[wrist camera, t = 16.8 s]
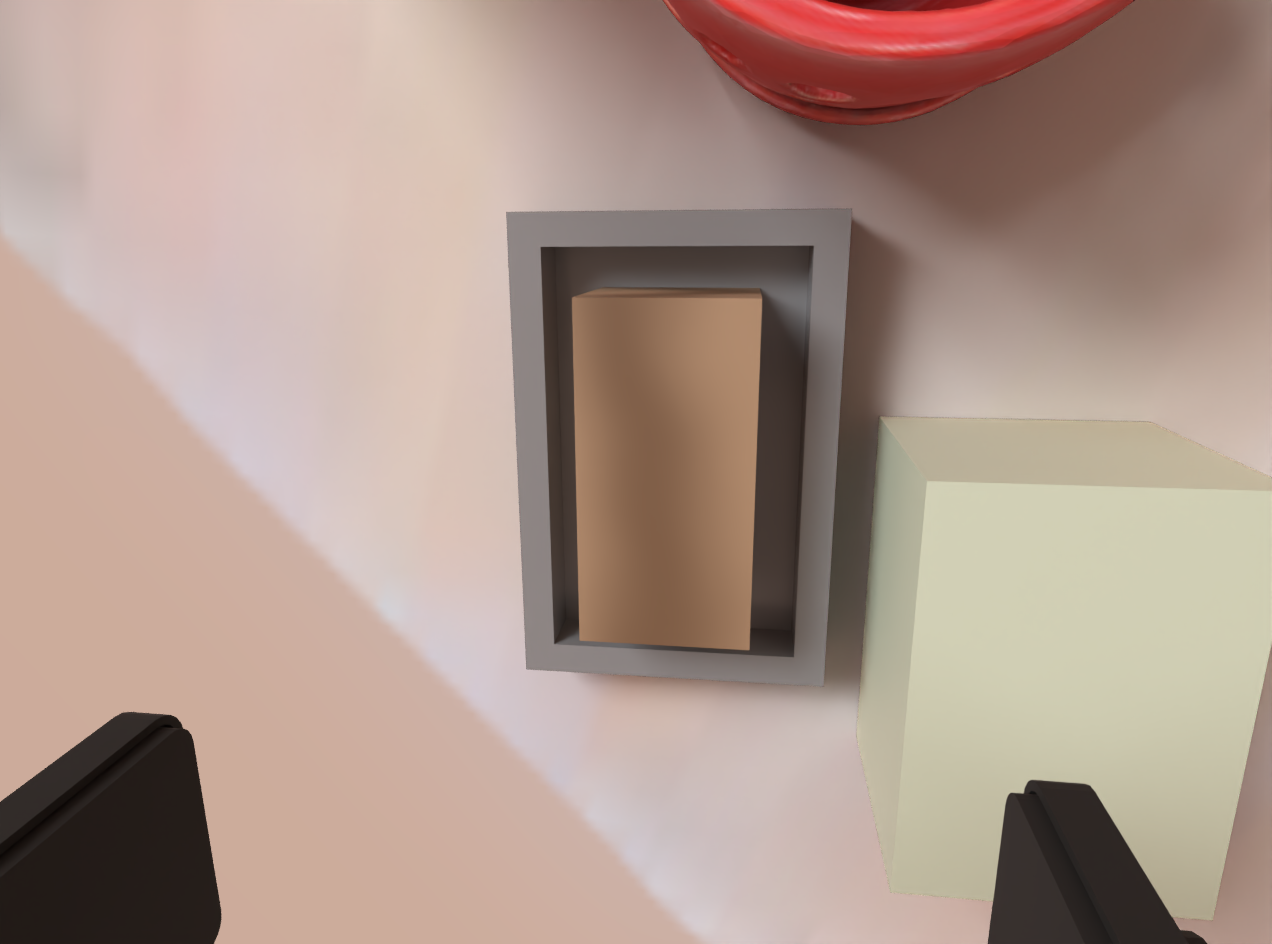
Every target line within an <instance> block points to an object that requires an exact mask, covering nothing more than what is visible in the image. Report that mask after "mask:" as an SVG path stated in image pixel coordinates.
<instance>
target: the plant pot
mask: <svg viewBox="0 0 1272 944" xmlns="http://www.w3.org/2000/svg"><path fill="white" fill-rule="evenodd" d="M663 1H664V3H665V4H666V6H667V7H668V8H669V10H670V11H671V12H672V14H673V15H674V16H675V17H676V19H677V20H678V21H679V22H680V23H681V24H682V26H683V27H684V28H685V29H686V30H687V31H688V32H689V33H690V34H691V35H692V36H693V37H694V38H695V39H696V40H698V41H699V42H700V44H701V45H702V46H703V47H704V49H705V50H706V51H707V53H708V54H709V55H710V56H711V57H712V59H713V60H714V61H715V62H716V63H717V64H718V65H719V66H720V67H721V68H722V69H723V70H724V71H725V72H726V73H727V74H728V75H729V76H730V77H731V78H732V79H733V80H735V81H736V82H737V83H738V84H740V85H741V86H742V87H743V88H745V89H746V90H747V91H749V92H750V93H752V94H753V95H755V96H756V97H758V98H759V99H761V100H763V101H765V102H767V103H769V104H771V105H773V106H775V107H777V108H779V109H781V110H784V111H786V112H789V113H792V114H795V115H798V116H800V117H804V118H808V119H812V120H816V121H820V122H827V123H835V124H847V125H872V124H882V123H890V122H896V121H900V120H904V119H908V118H912V117H916V116H919V115H922V114H925V113H928V112H930V111H933V110H935V109H937V108H940V107H942V106H944V105H946V104H948V103H950V102H952V101H955V100H957V99H958V98H960V97H962V96H964V95H966V94H968V93H969V92H971V91H973V90H974V89H976V88H978V87H980V86H983V85H986V84H989V83H992V82H995V81H997V80H1000V79H1002V78H1005V77H1008V76H1010V75H1013V74H1015V73H1017V72H1019V71H1021V70H1023V69H1025V68H1027V67H1029V66H1031V65H1033V64H1035V63H1037V62H1039V61H1041V60H1043V59H1044V58H1046V57H1048V56H1050V55H1052V54H1054V53H1056V52H1058V51H1060V50H1061V49H1063V48H1065V47H1066V46H1068V45H1070V44H1072V43H1073V42H1075V41H1077V40H1078V39H1080V38H1081V37H1083V36H1084V35H1086V34H1087V33H1089V32H1090V31H1092V30H1093V29H1095V28H1096V27H1098V26H1099V25H1101V24H1102V23H1104V22H1105V21H1107V20H1108V19H1110V18H1111V17H1113V16H1114V15H1116V14H1117V13H1118V12H1120V11H1121V10H1122V9H1124V8H1125V7H1126V6H1128V5H1129V4H1131V3H1132V2H1133V1H1135V0H663Z"/></svg>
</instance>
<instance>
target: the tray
mask: <svg viewBox="0 0 1272 944" xmlns="http://www.w3.org/2000/svg"><path fill="white" fill-rule="evenodd" d="M506 218H507V241H508V263H509V286H510V309H511V331H512V354H513V377H514V399H515V422H516V445H517V467H518V490H519V513H520V535H521V558H522V581H523V604H524V626H525V649H526V669H530V670H547V671H564V672H581V673H598V674H615V675H632V676H649V677H666V678H683V679H700V680H717V681H734V682H751V683H768V684H785V685H802V686H819V687H824V671H825V654H826V638H827V621H828V604H829V587H830V571H831V554H832V537H833V520H834V503H835V487H836V470H837V453H838V436H839V420H840V403H841V386H842V369H843V352H844V336H845V319H846V302H847V285H848V269H849V252H850V235H851V218H852V209H761V210H659V211H557V212H506ZM602 287H677V288H760V291H761V296H762V318H761V345H760V373H759V400H758V428H757V455H756V483H755V510H754V537H753V565H752V592H751V620H750V647H749V650H735V649H718V648H700V647H682V646H665V645H647V644H630V643H612V642H594V641H580V638H579V593H578V548H577V503H576V458H575V413H574V368H573V323H572V297H575V296H578V295H581V294H584V293H587V292H590V291H593V290H596V289H599V288H602Z"/></svg>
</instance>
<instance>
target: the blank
mask: <svg viewBox="0 0 1272 944" xmlns="http://www.w3.org/2000/svg"><path fill="white" fill-rule="evenodd" d="M761 318H762V296H761V291H760V288H677V287H602V288H599V289H596V290H593V291H590V292H587V293H584V294H581V295H578V296H575V297H572V323H573V368H574V413H575V458H576V503H577V548H578V593H579V638H580V641H594V642H612V643H630V644H647V645H665V646H682V647H700V648H718V649H735V650H749V647H750V620H751V592H752V565H753V537H754V510H755V483H756V455H757V428H758V400H759V373H760V345H761Z"/></svg>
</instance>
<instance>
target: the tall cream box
mask: <svg viewBox="0 0 1272 944" xmlns="http://www.w3.org/2000/svg"><path fill="white" fill-rule="evenodd" d="M1271 645H1272V477H1270V476H1268V475H1266V474H1263V473H1261V472H1259V471H1257V470H1255V469H1252V468H1250V467H1248V466H1246V465H1244V464H1241V463H1239V462H1237V461H1235V460H1233V459H1230V458H1228V457H1226V456H1224V455H1222V454H1219V453H1217V452H1215V451H1213V450H1211V449H1208V448H1206V447H1204V446H1202V445H1200V444H1198V443H1195V442H1193V441H1191V440H1189V439H1187V438H1184V437H1182V436H1180V435H1178V434H1176V433H1173V432H1171V431H1169V430H1167V429H1165V428H1162V427H1160V426H1158V425H1156V424H1154V423H1151V422H1128V421H1078V420H1028V419H977V418H927V417H879V429H878V442H877V456H876V470H875V484H874V498H873V512H872V525H871V539H870V553H869V567H868V581H867V595H866V608H865V622H864V636H863V650H862V664H861V678H860V691H859V705H858V719H857V733H856V737H857V742H858V746H859V751H860V756H861V760H862V765H863V769H864V774H865V779H866V783H867V788H868V792H869V797H870V802H871V806H872V811H873V815H874V820H875V825H876V829H877V834H878V838H879V843H880V848H881V852H882V857H883V861H884V866H885V871H886V875H887V880H888V884H889V889H890V892H891V893H902V894H914V895H925V896H936V897H948V898H959V899H971V900H982V901H993V898H994V890H995V883H996V875H997V867H998V859H999V851H1000V843H1001V835H1002V827H1003V819H1004V812H1005V804H1006V799H1007V797H1008V795H1009V794H1010V793H1024V789H1025V786H1026V784H1027V782H1028V781H1030V780H1043V781H1056V782H1070V783H1083V784H1087V785H1090V786H1091V787H1092V789H1093V790H1094V791H1095V792H1096V794H1097V796H1098V797H1099V799H1100V800H1101V802H1102V804H1103V805H1104V807H1105V809H1106V810H1107V812H1108V813H1109V815H1110V817H1111V818H1112V820H1113V822H1114V823H1115V825H1116V827H1117V828H1118V830H1119V831H1120V833H1121V835H1122V836H1123V838H1124V840H1125V841H1126V843H1127V845H1128V846H1129V848H1130V849H1131V851H1132V853H1133V854H1134V856H1135V858H1136V859H1137V861H1138V862H1139V864H1140V866H1141V867H1142V869H1143V871H1144V872H1145V874H1146V876H1147V877H1148V879H1149V880H1150V882H1151V884H1152V885H1153V887H1154V889H1155V890H1156V892H1157V894H1158V895H1159V897H1160V898H1161V900H1162V902H1163V903H1164V905H1165V907H1166V908H1167V910H1168V911H1169V913H1170V915H1171V916H1172V917H1176V918H1188V919H1199V920H1210V921H1213V917H1214V912H1215V907H1216V903H1217V898H1218V893H1219V888H1220V884H1221V879H1222V874H1223V870H1224V865H1225V860H1226V856H1227V851H1228V846H1229V842H1230V837H1231V832H1232V827H1233V823H1234V818H1235V813H1236V809H1237V804H1238V799H1239V795H1240V790H1241V785H1242V781H1243V776H1244V771H1245V766H1246V762H1247V757H1248V752H1249V748H1250V743H1251V738H1252V734H1253V729H1254V724H1255V720H1256V715H1257V710H1258V706H1259V701H1260V696H1261V691H1262V687H1263V682H1264V677H1265V673H1266V668H1267V663H1268V659H1269V654H1270V649H1271Z"/></svg>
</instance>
